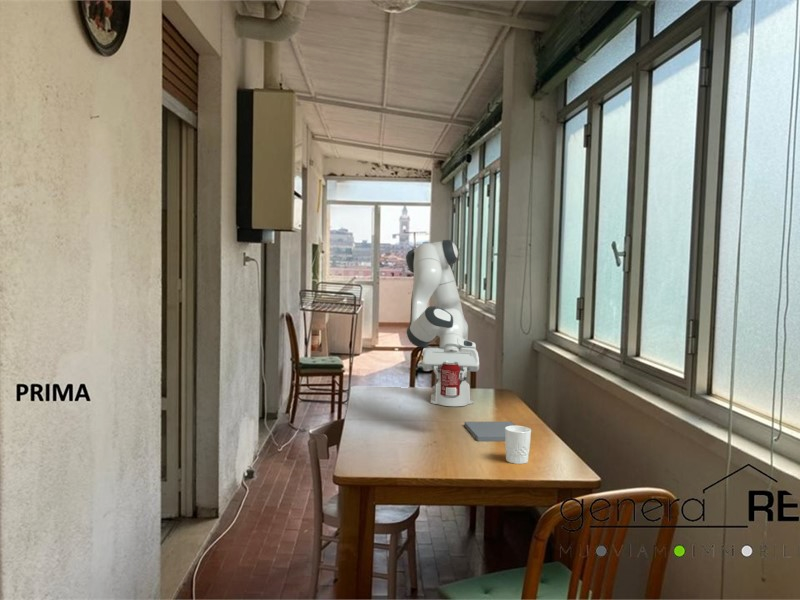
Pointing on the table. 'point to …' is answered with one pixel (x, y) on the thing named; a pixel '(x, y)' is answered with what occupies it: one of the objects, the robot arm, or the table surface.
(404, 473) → the table surface
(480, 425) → the slate board
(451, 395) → the soda can
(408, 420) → the table surface
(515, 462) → the white cup
